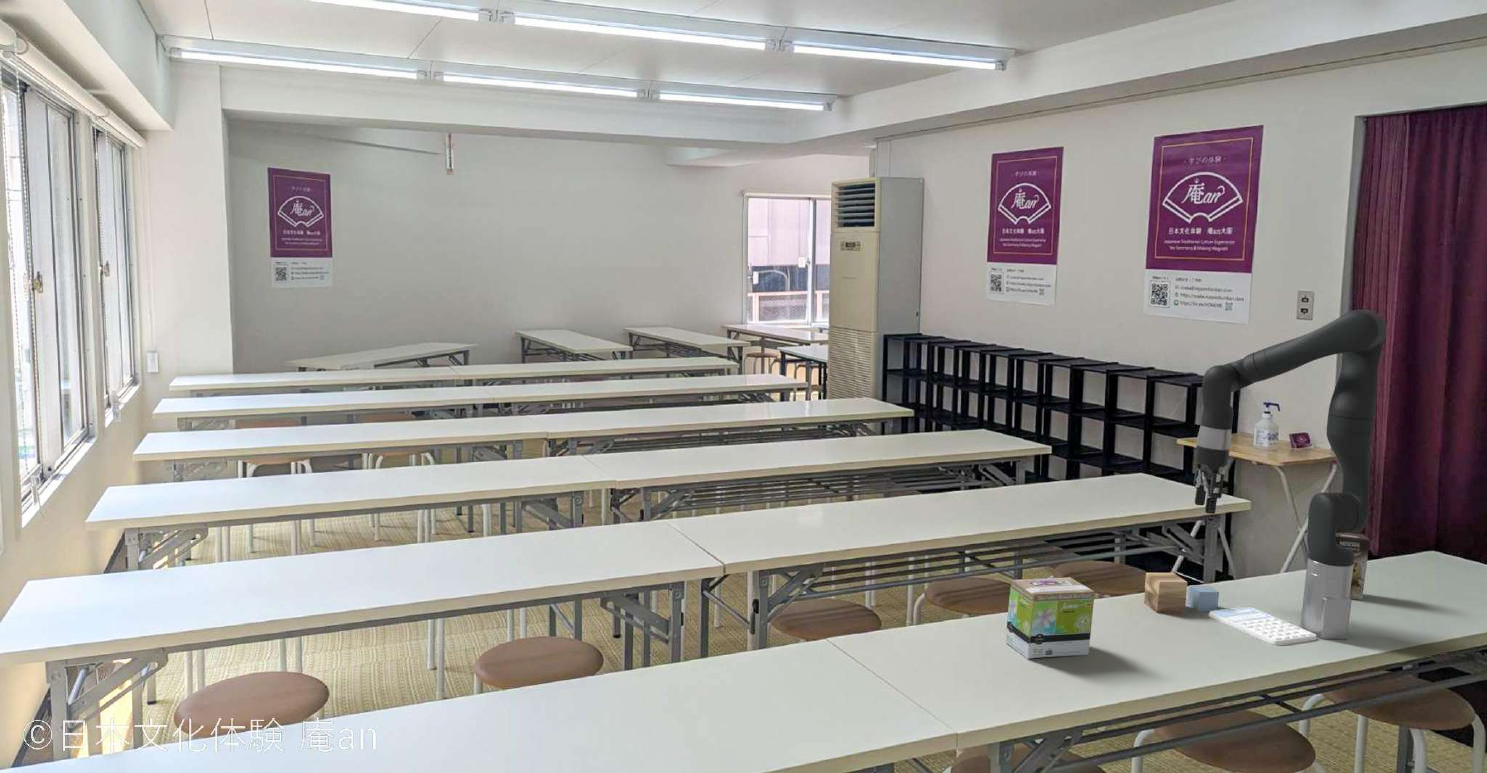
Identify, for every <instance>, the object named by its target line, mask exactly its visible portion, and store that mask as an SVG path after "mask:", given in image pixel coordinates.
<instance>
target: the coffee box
mask: <svg viewBox="0 0 1487 773" xmlns="http://www.w3.org/2000/svg"><path fill="white" fill-rule="evenodd" d="M1336 543H1337V544H1338V545H1340V546H1343V547H1345V548H1348V549H1350V550H1351V551H1352V552H1353V553H1354V564H1353V572H1352V580H1351V589H1350V597H1349V598H1350V599H1351V600H1358V601H1359V600H1360V601H1362V600H1363V596H1364V588H1365V582H1366V572H1367V564H1368V559H1369V558H1368V557H1369V549H1370V543H1371V541H1370V539H1369V538H1368V537H1367V536H1366V535H1364V534H1363V533H1336Z"/></svg>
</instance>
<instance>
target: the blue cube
mask: <svg viewBox="0 0 1487 773" xmlns="http://www.w3.org/2000/svg"><path fill="white" fill-rule="evenodd" d="M1219 597H1220V591H1218V590H1216V589H1215V588H1214V587H1212V586H1211V585H1202V584H1201V585H1200V584H1199V585H1196V584H1194V585H1193V584H1192V585H1189V587H1188V598H1187V605H1188V606H1189V607H1191V608H1192V609H1193V610H1195V611H1197V612H1210V611H1215V610H1219V609H1218V608H1219V607H1218V606H1219Z"/></svg>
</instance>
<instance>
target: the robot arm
mask: <svg viewBox="0 0 1487 773" xmlns="http://www.w3.org/2000/svg"><path fill="white" fill-rule="evenodd" d="M1384 320H1385V319H1384V318H1382V316H1381V315H1380V314H1378V313H1377V312H1376V311H1374V310H1370V309H1354V310H1350V311H1348V312H1345V313H1344V314H1342V315H1341V316H1339V317H1338V318H1336V319H1334V320H1332V321H1330V322H1329V323H1327V324H1325V325H1323V326H1322V327H1319V328H1318V329H1315V330H1313V331H1311V332H1308V333H1306V334H1304V335H1300V336H1298V337H1295V338H1292V339H1289V340H1286V341H1283V342H1280V343H1276V344H1274V345H1271V346H1268V347H1265V348H1263V349H1259V350H1257V351H1254V352H1251V353H1249V354H1247V355H1246V356H1244V357H1243V358H1240V359H1237V360H1234V361H1231V362H1229V363H1225V364H1219V365H1213V366H1211V367H1209V368H1208V369H1207V370H1206V371H1205V373H1204V375H1203V378H1202V383H1201V392H1202V393H1201V396H1202V411H1201V412H1202V413H1201V418H1200V419H1201V420H1200V427H1199V431H1198V433H1197V441H1196V448H1195V453H1194V462H1195V463H1196V464H1195V465H1196V467H1195V472H1194V480H1193V486H1195V498H1194V505H1196V506H1204V505H1205V508H1204V512H1205V513H1206V514H1210V515H1213V514H1215V513H1216V510H1217V509H1216V508H1217V503H1218V502H1217V501H1218V500H1219V499H1222V497H1223V496H1222V495H1223V494H1222V493H1223V487H1224V479H1225V474H1224V473H1220V468H1225V467H1227V466H1228V464H1229V460H1230V459H1229V457H1230V451H1231V443H1232V428H1233V421H1234V408H1233V406H1231V399H1232V393H1234V392H1237V391H1239V390H1242V389H1244V388H1247V387H1248V386H1251V385H1253V384H1255V383H1259V382H1263V381H1266V380H1269V379H1271V378H1275V377H1278V376H1280V375H1283V374H1286V373H1288V372H1291V371H1293V370H1296V369H1298V368H1299V367H1302V366H1304V365H1306V364H1309V363H1311V362H1313V361H1315V360H1320V359H1322V358H1325V357H1329V356H1333V355H1340V354H1341V367H1340V373H1339V376H1338V378H1337V382H1336V384H1335V387H1334V390H1333V393H1332V396H1331V398H1330V403H1329V406H1328V412H1327V413H1328V414H1327V422H1326V437H1327V441H1328V443H1329V445H1330V448H1331V450H1332V451H1333V453H1334V455H1335V457H1336V459H1337V460H1338V463H1339V466H1340V467H1341V471H1342V488H1341V489H1342V490H1341V492H1318V493H1316V494H1314V495H1313V497H1312V498H1311V500H1310V503H1309V506H1308V516H1307V535H1306V542H1307V543H1306V544H1307V549H1308V550H1307V551H1308V555H1307V561H1306V572H1305V580H1304V587H1303V588H1304V590H1303V598H1302V608H1301V615H1300V616H1301V618H1300V626H1299V627H1300V628H1302V629H1305V630H1307V631H1309V632H1312V633H1314V634H1316V636H1317V637H1318V638H1320V639H1323V640H1324V639H1327V640H1329V639H1331V640H1333V639H1334V640H1335V639H1337V640H1339V639H1341V640H1344V639H1345V640H1346V639H1348V633H1349V627H1350V626H1349V624H1350V618H1351V616H1350V615H1351V610H1352V609H1351V607H1352V599H1350V598H1349V597H1350V589H1351V580H1352V572H1353V564H1354V553H1353V552H1352V551H1351V550H1350V549H1348V548H1345V547H1343V546H1340V545H1338V544H1337V543H1336V533H1355V534H1358V533H1360V532H1361V531H1363V530H1364V528H1366V526H1367V522H1368V518H1369V510H1370V466H1371V465H1370V462H1371V453H1372V452H1371V450H1372V442H1373V436H1374V430H1375V420H1376V409H1377V408H1376V407H1377V392H1378V391H1377V389H1378V387H1377V386H1378V371H1379V370H1378V369H1379V365H1380V360H1381V356H1382V352H1383V348H1384V347H1383V346H1384V343H1385V338H1386V335H1387V326H1386V323H1385V321H1384Z"/></svg>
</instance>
